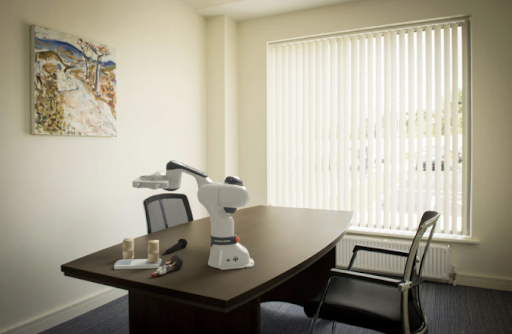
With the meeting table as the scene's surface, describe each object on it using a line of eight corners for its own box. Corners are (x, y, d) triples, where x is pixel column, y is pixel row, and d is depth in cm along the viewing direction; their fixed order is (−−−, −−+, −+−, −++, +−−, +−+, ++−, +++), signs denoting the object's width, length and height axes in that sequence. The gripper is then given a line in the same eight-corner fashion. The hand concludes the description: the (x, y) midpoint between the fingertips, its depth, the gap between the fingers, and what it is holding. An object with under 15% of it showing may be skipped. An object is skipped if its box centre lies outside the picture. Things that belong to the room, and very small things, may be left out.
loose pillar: (134, 257, 191) (133, 238, 191) (132, 260, 187) (132, 240, 186) (124, 257, 191) (124, 238, 190) (122, 260, 186) (122, 240, 186)
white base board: (162, 261, 185) (162, 258, 185) (159, 268, 175) (159, 264, 175) (118, 262, 182) (118, 259, 182) (113, 269, 172) (112, 266, 172)
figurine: (184, 252, 174) (152, 266, 160) (188, 266, 174) (156, 281, 160) (174, 253, 179) (142, 267, 165) (178, 267, 179) (146, 281, 165)
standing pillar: (158, 260, 182) (158, 239, 181) (157, 263, 177) (157, 242, 177) (149, 260, 181) (149, 240, 181) (147, 263, 177) (147, 242, 176)
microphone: (165, 261, 195) (188, 247, 213) (167, 252, 193) (190, 239, 211) (157, 257, 197) (180, 244, 215) (159, 247, 195) (182, 235, 213)
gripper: (172, 187, 219) (165, 193, 206) (137, 186, 220) (128, 191, 206) (172, 177, 218) (165, 182, 204) (137, 175, 219) (128, 180, 205)
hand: (146, 187), depth 205 cm, fingers open, 8 cm apart
